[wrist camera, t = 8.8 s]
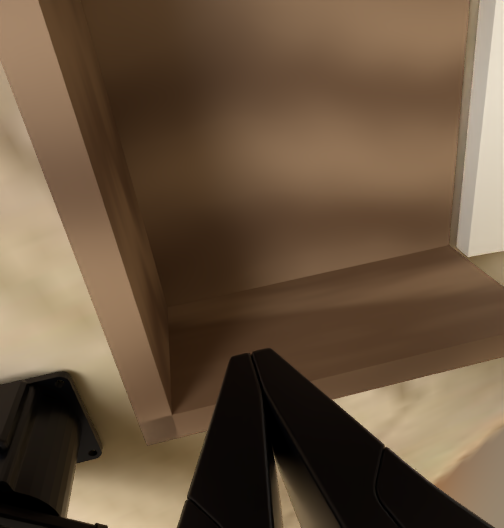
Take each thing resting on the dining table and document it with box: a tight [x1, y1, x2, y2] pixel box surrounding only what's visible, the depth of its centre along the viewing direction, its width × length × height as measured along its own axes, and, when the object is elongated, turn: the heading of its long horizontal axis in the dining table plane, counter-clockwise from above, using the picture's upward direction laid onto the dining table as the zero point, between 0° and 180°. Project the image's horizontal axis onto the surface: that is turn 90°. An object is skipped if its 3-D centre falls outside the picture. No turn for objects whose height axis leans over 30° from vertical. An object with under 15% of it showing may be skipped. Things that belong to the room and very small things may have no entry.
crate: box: [0, 0, 504, 446], centre depth 16 cm, size 20×16×8 cm
